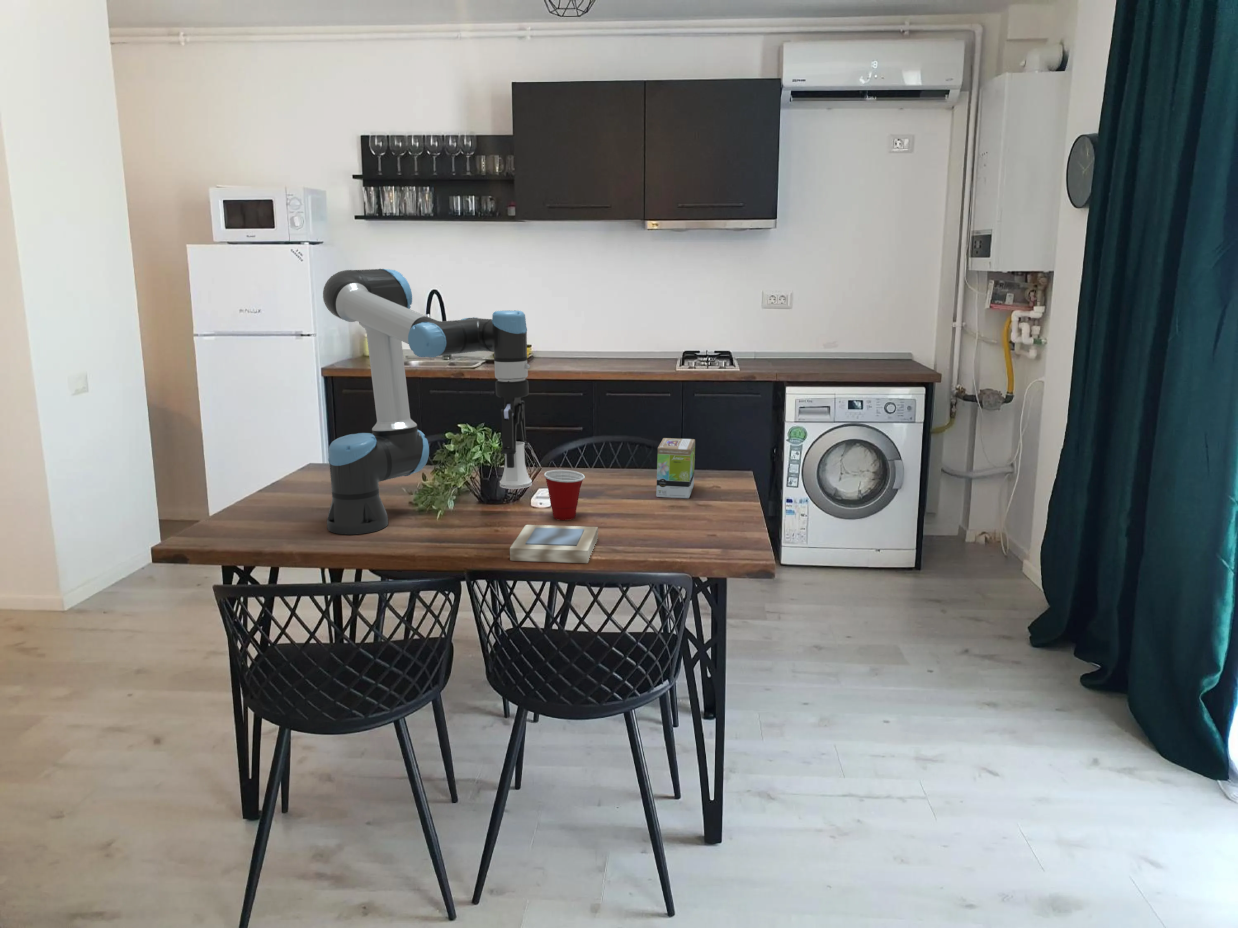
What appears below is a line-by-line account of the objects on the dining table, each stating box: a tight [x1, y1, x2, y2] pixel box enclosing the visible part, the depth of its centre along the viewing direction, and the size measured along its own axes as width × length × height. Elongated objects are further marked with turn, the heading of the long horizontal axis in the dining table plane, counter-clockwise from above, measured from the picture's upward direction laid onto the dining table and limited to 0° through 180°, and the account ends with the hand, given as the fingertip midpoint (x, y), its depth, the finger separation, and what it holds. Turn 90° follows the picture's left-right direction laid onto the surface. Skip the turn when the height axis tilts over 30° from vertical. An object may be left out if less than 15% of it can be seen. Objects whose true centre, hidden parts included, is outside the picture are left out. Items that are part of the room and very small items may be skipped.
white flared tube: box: [499, 441, 533, 490], centre depth 212 cm, size 8×8×10 cm
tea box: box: [655, 437, 696, 499], centre depth 265 cm, size 15×10×15 cm, turn 171°
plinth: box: [509, 524, 599, 564], centre depth 216 cm, size 18×18×3 cm
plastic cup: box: [543, 469, 585, 521], centre depth 240 cm, size 11×11×12 cm
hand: (515, 476), depth 213 cm, fingers closed on white flared tube, 7 cm apart
